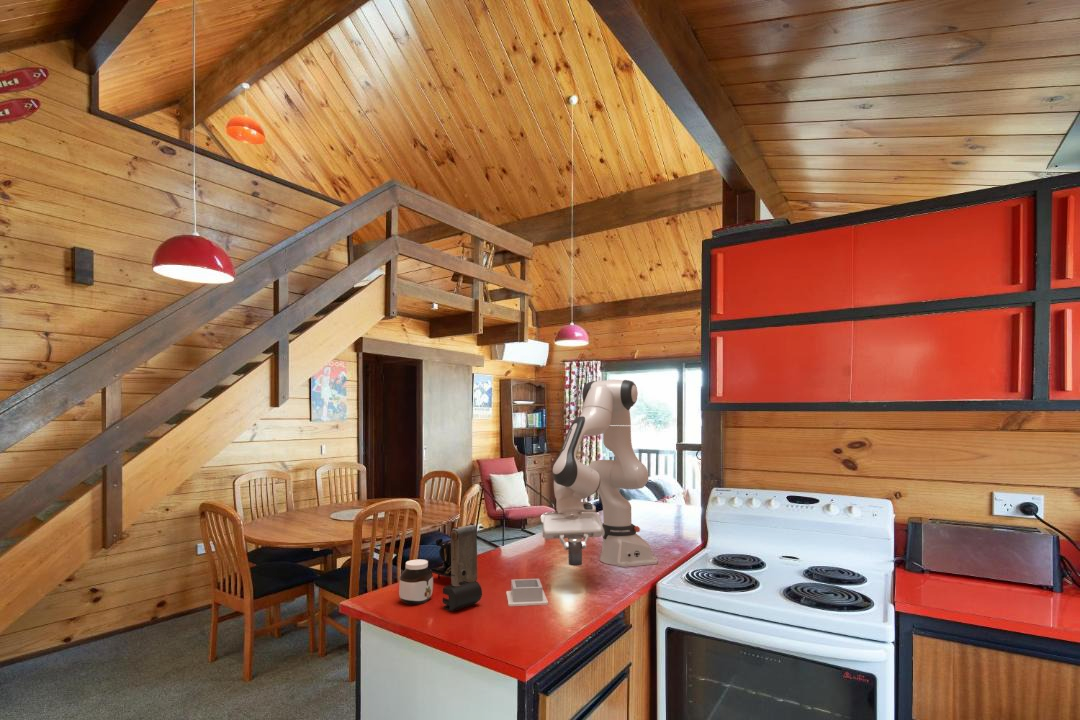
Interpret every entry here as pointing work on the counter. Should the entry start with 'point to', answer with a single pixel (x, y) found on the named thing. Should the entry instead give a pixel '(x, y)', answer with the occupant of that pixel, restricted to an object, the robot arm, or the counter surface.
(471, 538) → the vintage camera
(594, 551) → the counter surface
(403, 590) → the spread jar
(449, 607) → the end cap
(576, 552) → the brown cylinder
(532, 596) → the open square tray
